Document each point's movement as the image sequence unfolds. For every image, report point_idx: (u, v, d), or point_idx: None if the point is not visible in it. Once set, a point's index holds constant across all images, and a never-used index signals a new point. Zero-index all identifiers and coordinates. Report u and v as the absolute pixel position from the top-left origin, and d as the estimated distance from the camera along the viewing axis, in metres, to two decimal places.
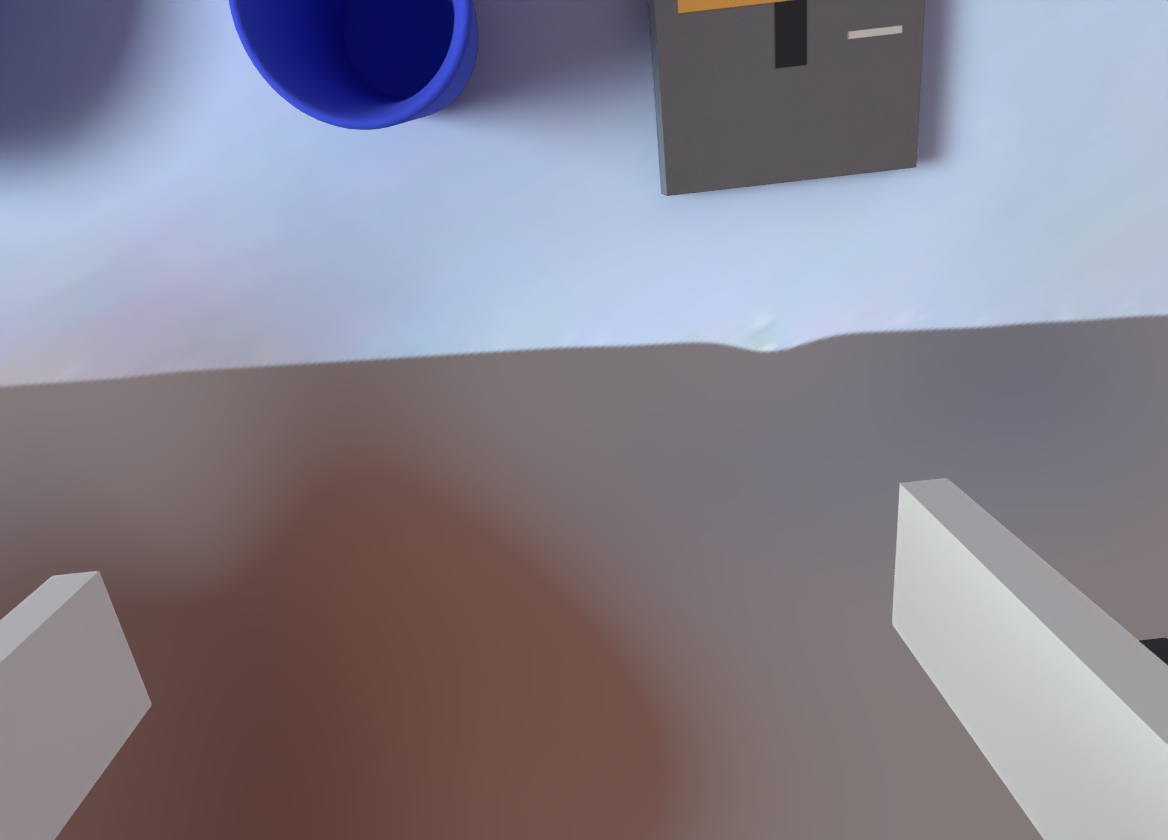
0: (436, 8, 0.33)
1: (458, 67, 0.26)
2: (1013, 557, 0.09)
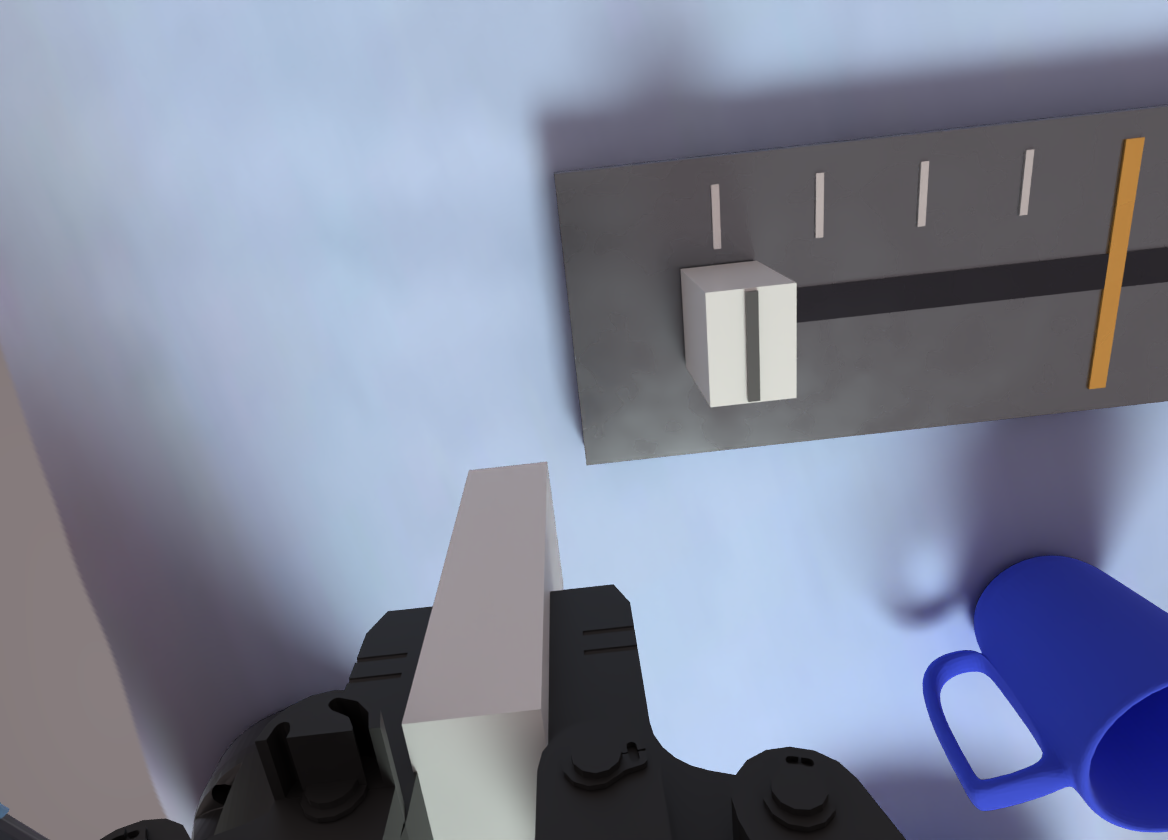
0: None
1: None
2: (526, 523, 0.12)
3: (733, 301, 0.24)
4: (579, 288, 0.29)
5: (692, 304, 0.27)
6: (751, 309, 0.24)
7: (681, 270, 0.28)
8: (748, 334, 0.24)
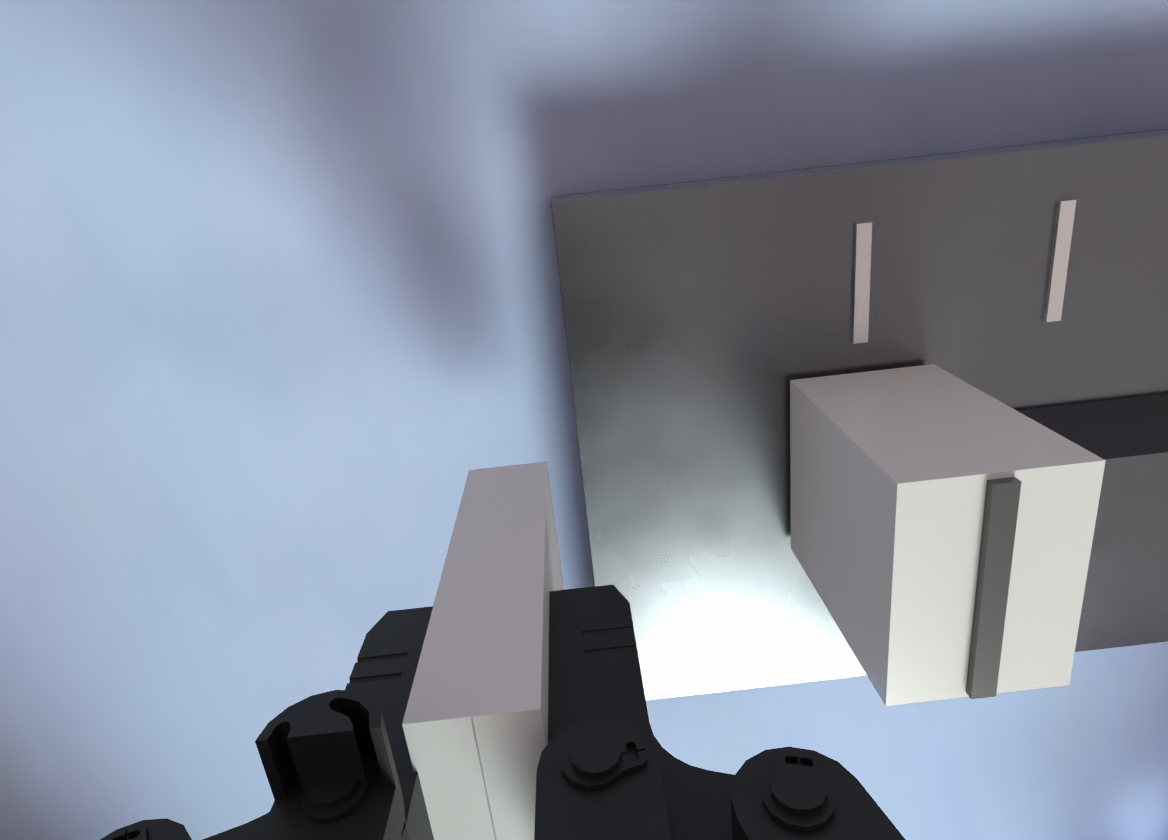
0: None
1: None
2: (526, 523, 0.12)
3: (958, 500, 0.11)
4: (598, 414, 0.15)
5: (830, 467, 0.13)
6: (1001, 519, 0.11)
7: (793, 384, 0.15)
8: (986, 569, 0.11)
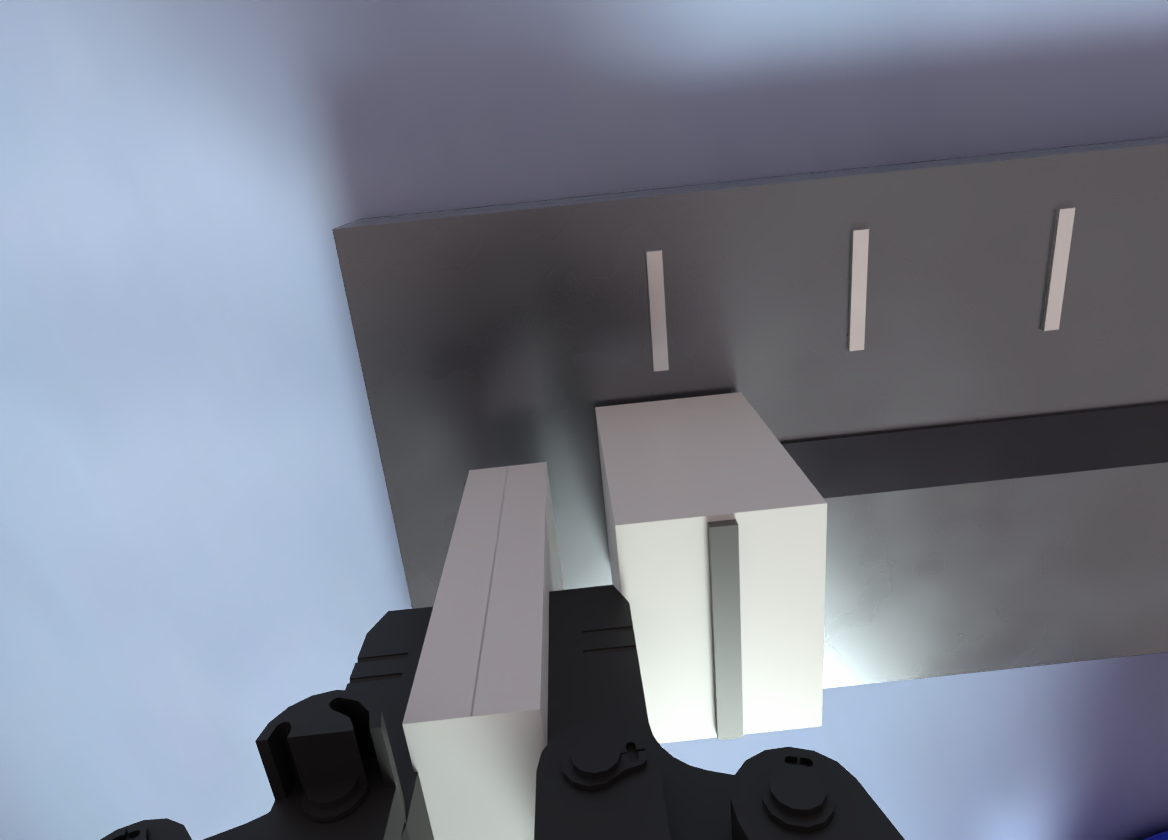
0: None
1: None
2: (525, 523, 0.12)
3: (681, 543, 0.10)
4: (401, 440, 0.15)
5: (607, 500, 0.13)
6: (723, 562, 0.10)
7: None
8: (716, 611, 0.11)
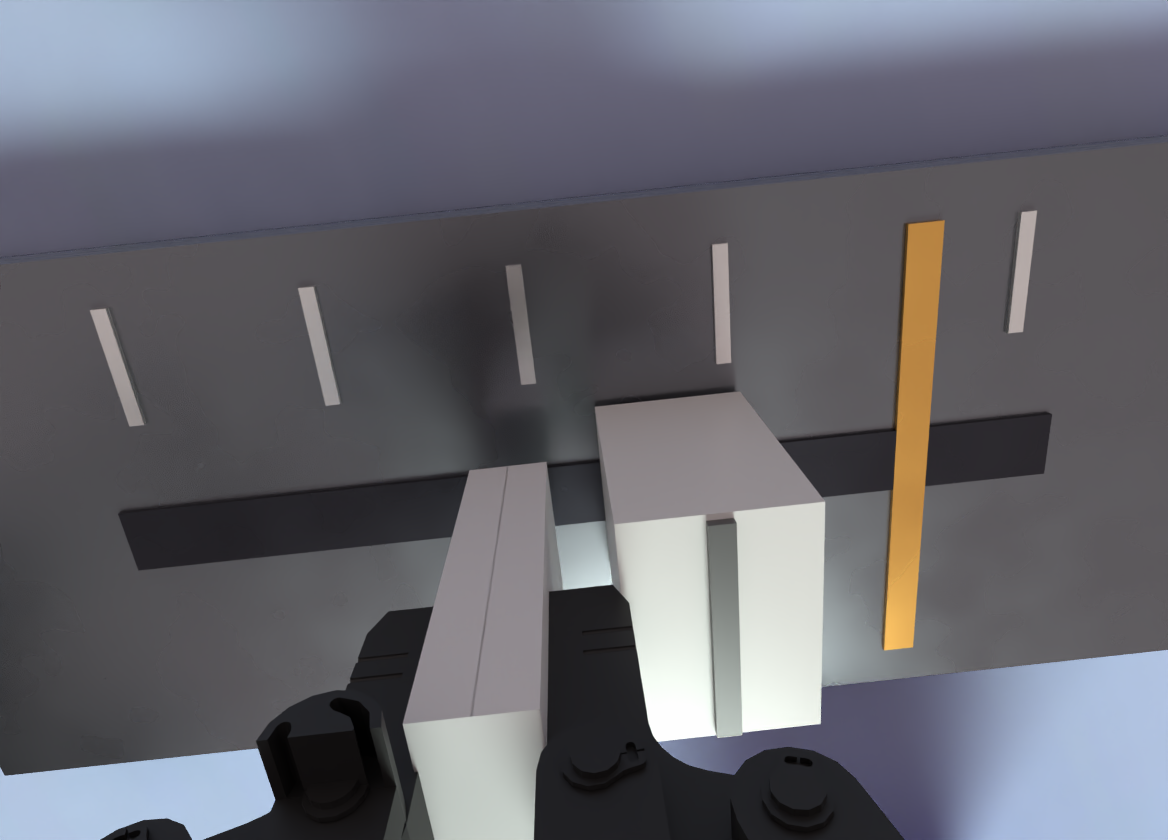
0: None
1: None
2: (525, 523, 0.12)
3: (679, 541, 0.10)
4: None
5: (606, 499, 0.13)
6: (721, 561, 0.10)
7: (595, 411, 0.15)
8: (714, 609, 0.11)
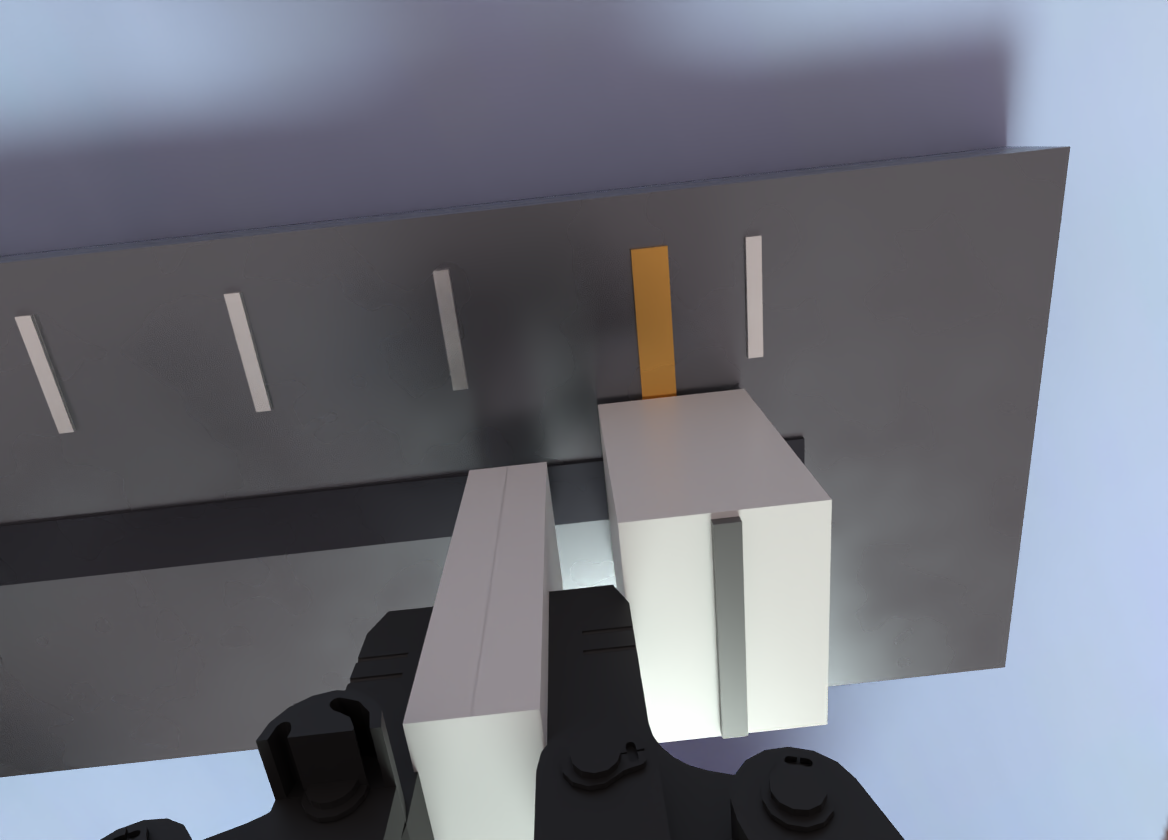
0: None
1: None
2: (525, 523, 0.12)
3: (684, 540, 0.10)
4: None
5: (610, 498, 0.13)
6: (727, 559, 0.10)
7: (598, 409, 0.15)
8: (720, 609, 0.11)
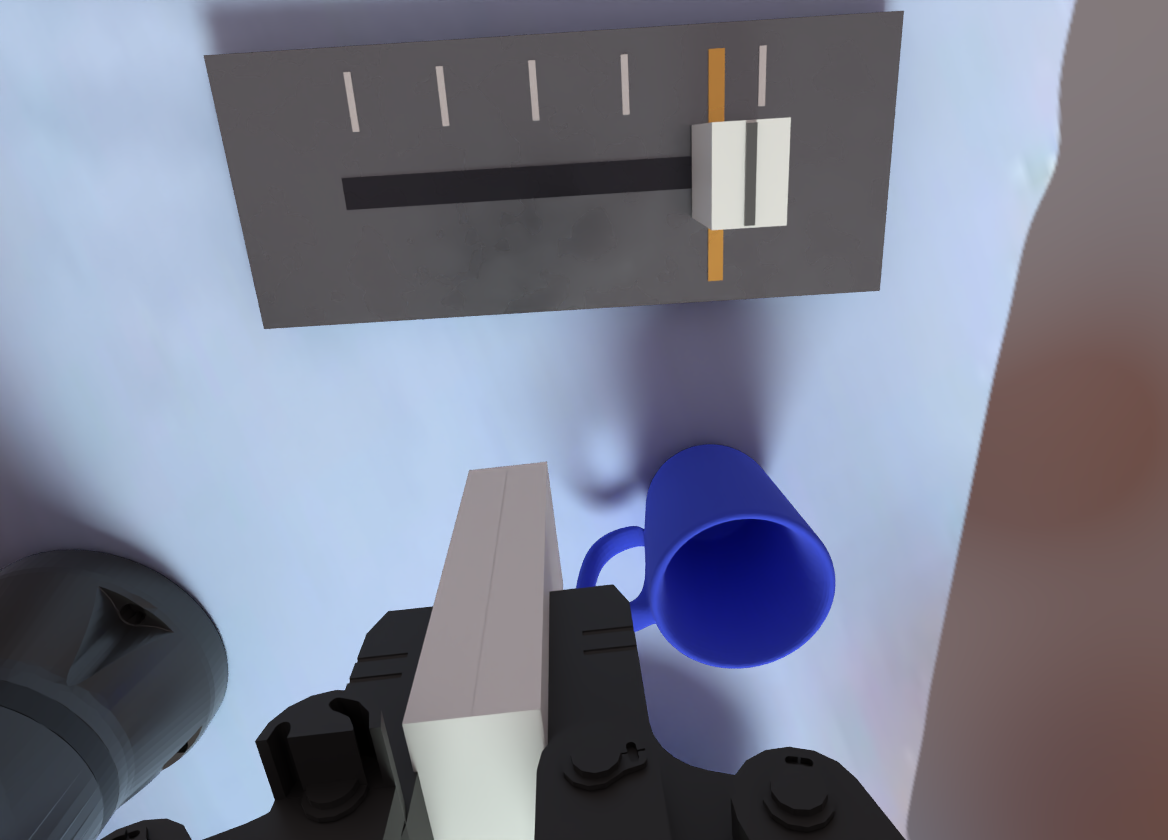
0: None
1: (801, 523, 0.31)
2: (526, 523, 0.12)
3: (735, 131, 0.28)
4: (238, 162, 0.33)
5: (700, 147, 0.30)
6: (751, 139, 0.28)
7: (692, 125, 0.32)
8: (747, 162, 0.28)
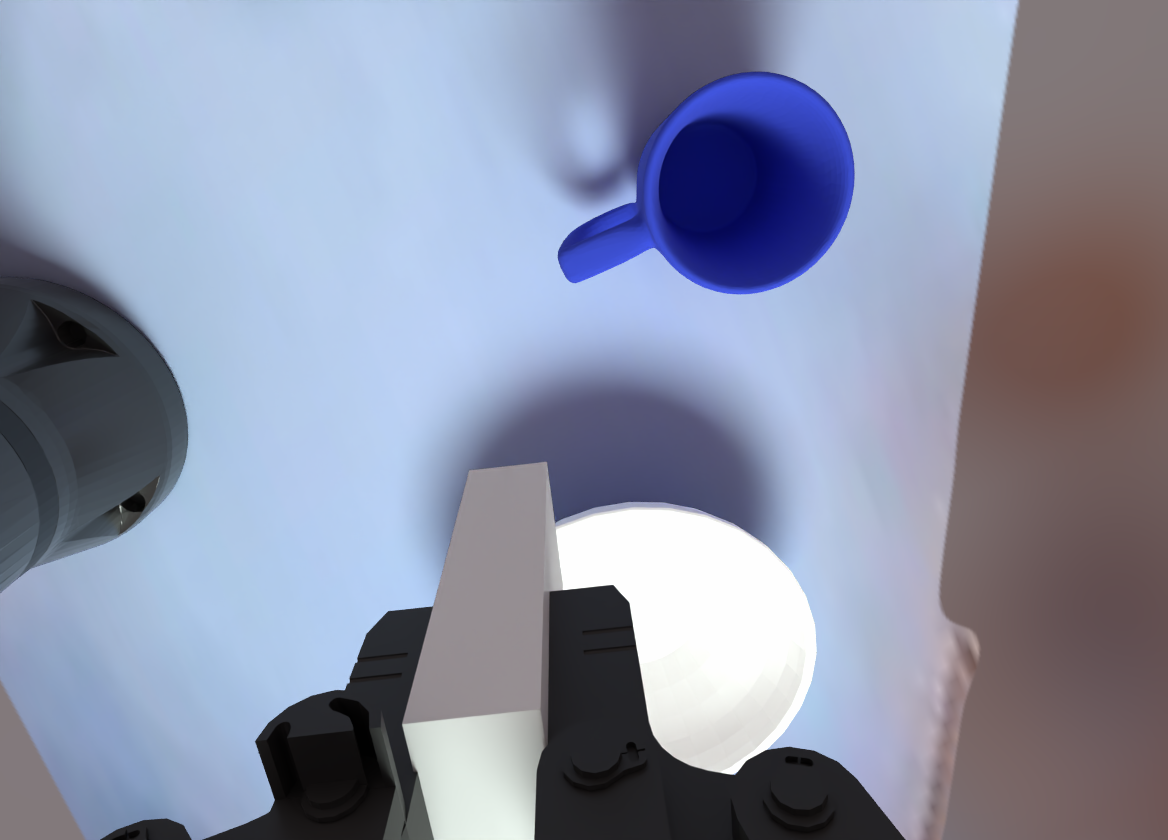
0: (683, 144, 0.36)
1: (812, 89, 0.27)
2: (526, 523, 0.12)
3: None
4: None
5: None
6: None
7: None
8: None
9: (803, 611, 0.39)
